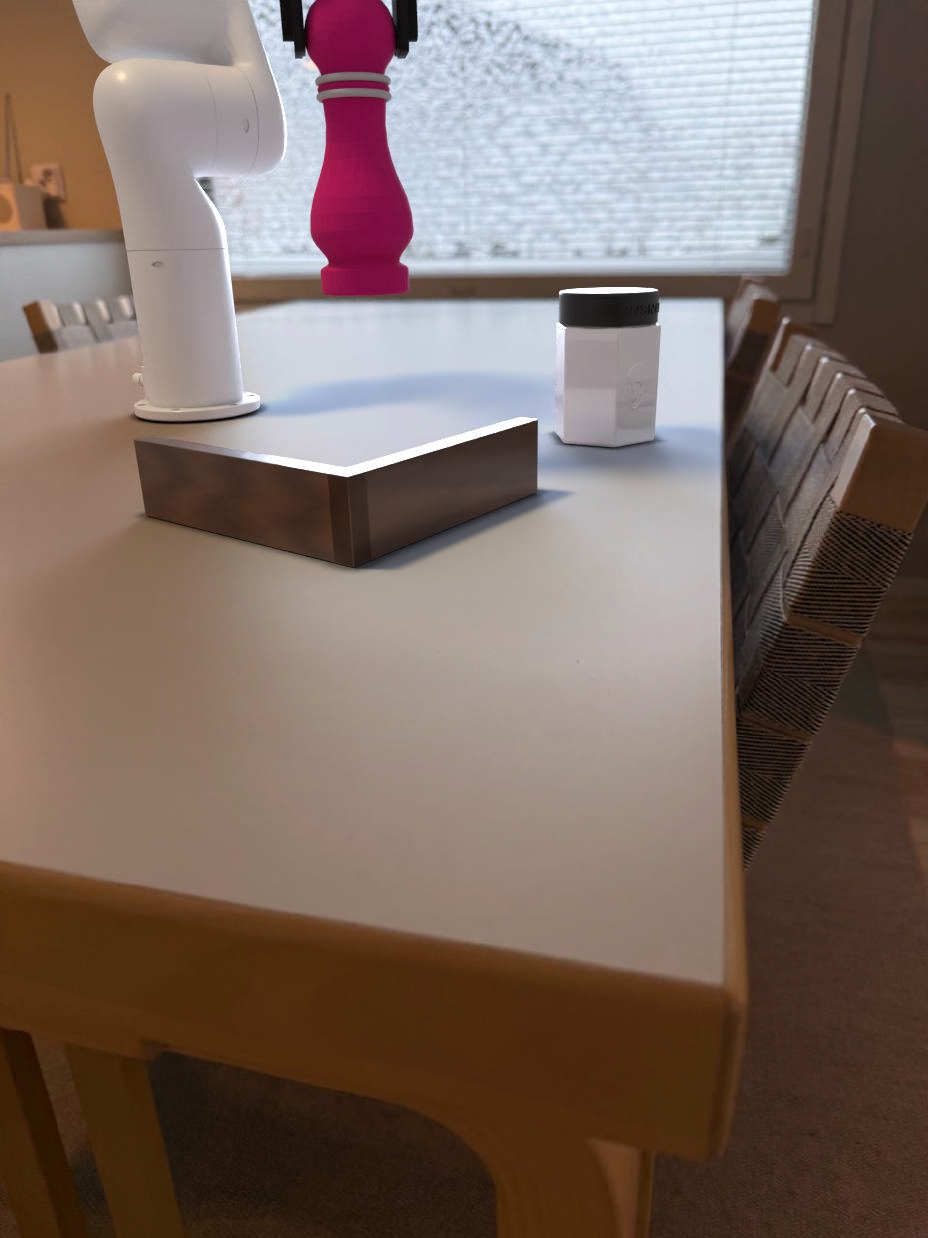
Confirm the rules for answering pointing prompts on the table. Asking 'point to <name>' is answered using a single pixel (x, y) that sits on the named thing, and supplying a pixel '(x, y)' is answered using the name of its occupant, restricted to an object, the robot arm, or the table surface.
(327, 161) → the pepper mill
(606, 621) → the table surface
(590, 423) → the jar
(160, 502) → the corner stop
